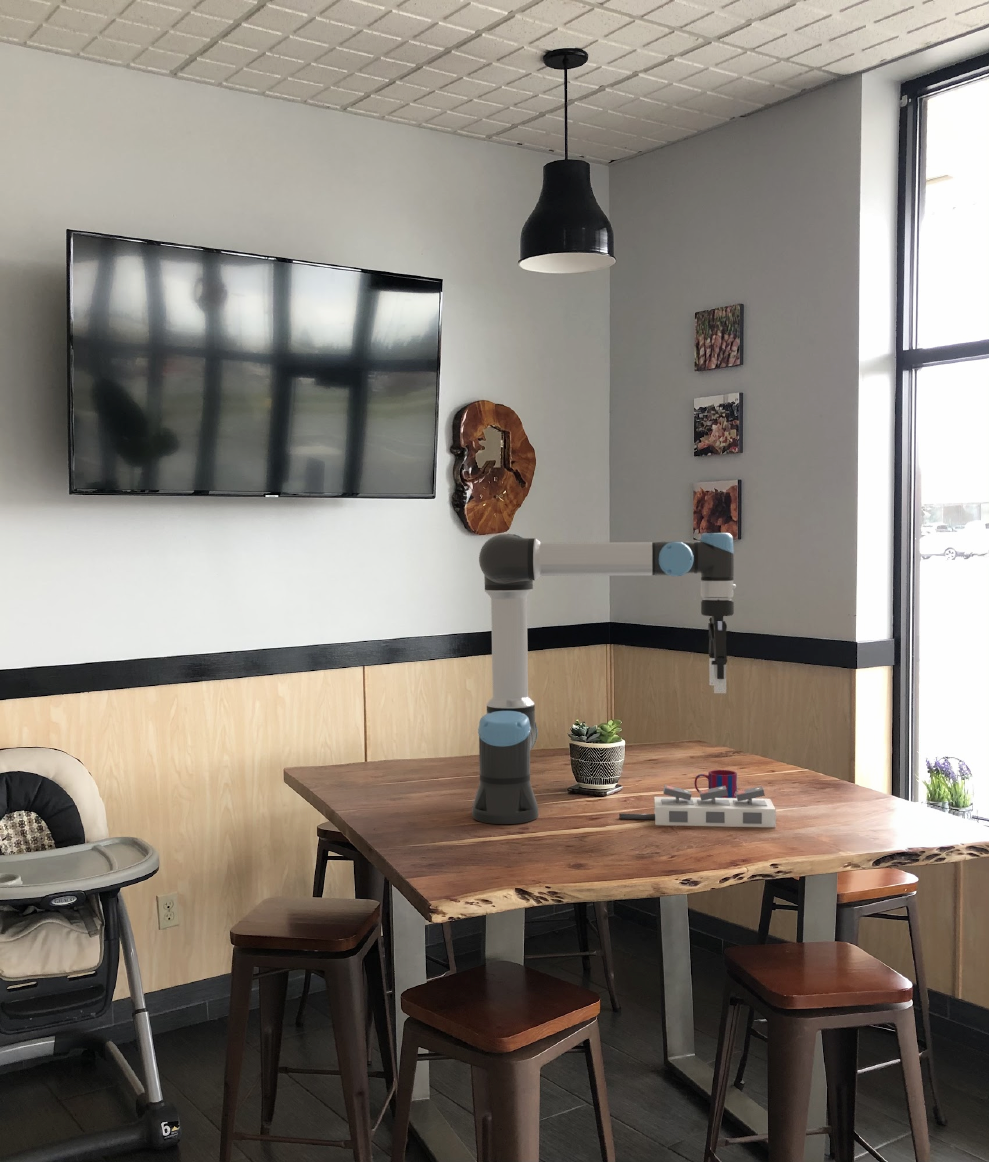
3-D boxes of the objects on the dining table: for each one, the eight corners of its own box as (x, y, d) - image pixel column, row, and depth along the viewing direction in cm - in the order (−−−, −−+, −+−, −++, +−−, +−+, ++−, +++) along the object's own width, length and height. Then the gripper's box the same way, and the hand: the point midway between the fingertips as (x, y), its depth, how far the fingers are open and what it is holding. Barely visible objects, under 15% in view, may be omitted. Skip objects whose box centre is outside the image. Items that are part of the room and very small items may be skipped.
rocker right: (738, 801, 249) (736, 795, 249) (736, 797, 253) (734, 791, 253) (764, 795, 249) (763, 789, 249) (762, 792, 252) (761, 785, 252)
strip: (619, 824, 249) (618, 800, 249) (619, 813, 259) (619, 790, 259) (775, 827, 245) (775, 803, 245) (769, 816, 255) (769, 793, 255)
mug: (736, 804, 267) (736, 775, 267) (693, 802, 269) (693, 774, 269) (737, 798, 274) (737, 770, 273) (695, 796, 276) (695, 768, 276)
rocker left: (663, 794, 251) (665, 787, 251) (663, 790, 255) (664, 784, 255) (690, 800, 251) (691, 794, 250) (689, 796, 254) (690, 790, 254)
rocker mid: (701, 800, 250) (699, 794, 250) (700, 797, 254) (698, 790, 254) (728, 795, 250) (726, 788, 250) (726, 791, 253) (725, 785, 253)
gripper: (739, 601, 250) (739, 696, 251) (728, 595, 275) (728, 682, 276) (704, 601, 251) (705, 696, 252) (697, 596, 276) (697, 682, 276)
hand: (717, 689), depth 264 cm, fingers open, 13 cm apart
